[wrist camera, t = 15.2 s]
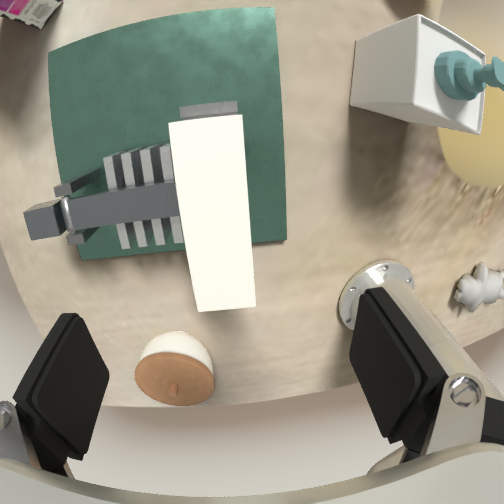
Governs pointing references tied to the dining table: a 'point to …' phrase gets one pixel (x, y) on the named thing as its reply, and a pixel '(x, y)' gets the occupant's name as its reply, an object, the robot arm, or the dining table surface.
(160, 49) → the green base metal fixture
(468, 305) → the bunny figurine
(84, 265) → the dining table surface
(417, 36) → the soap bottle
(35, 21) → the candy bar box
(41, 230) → the grey capped bar
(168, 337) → the lidded jar
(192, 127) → the plain white rectangular block
